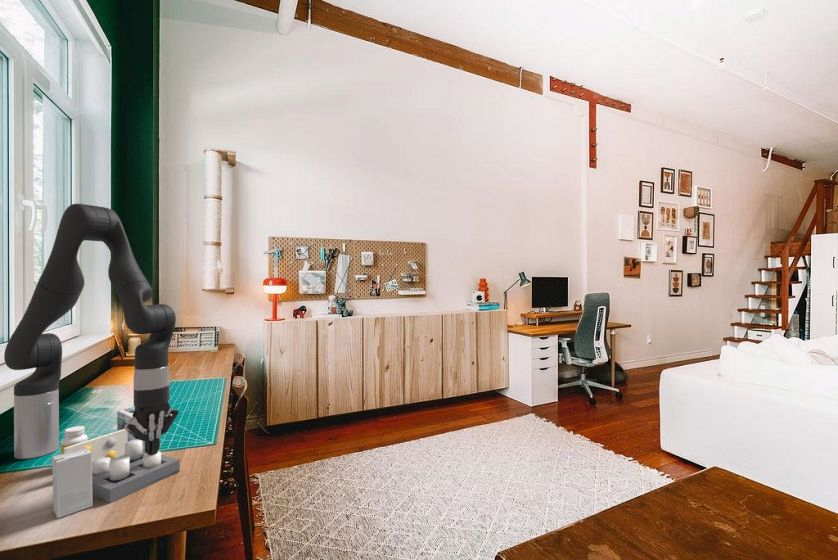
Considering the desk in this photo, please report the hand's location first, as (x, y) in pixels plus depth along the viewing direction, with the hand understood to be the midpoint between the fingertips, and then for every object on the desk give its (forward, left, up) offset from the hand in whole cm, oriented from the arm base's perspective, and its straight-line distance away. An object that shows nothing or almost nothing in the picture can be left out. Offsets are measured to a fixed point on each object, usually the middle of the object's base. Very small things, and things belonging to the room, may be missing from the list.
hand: (152, 453), depth 102 cm
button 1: (-7, -8, -4) cm, 11 cm away
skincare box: (0, -17, -6) cm, 18 cm away
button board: (-4, -4, -6) cm, 8 cm away
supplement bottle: (-24, -5, -6) cm, 25 cm away
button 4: (0, 0, -4) cm, 4 cm away
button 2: (0, -7, -2) cm, 8 cm away
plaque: (-16, -4, -6) cm, 18 cm away
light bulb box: (-21, +9, -6) cm, 23 cm away
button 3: (-7, 0, -2) cm, 8 cm away
